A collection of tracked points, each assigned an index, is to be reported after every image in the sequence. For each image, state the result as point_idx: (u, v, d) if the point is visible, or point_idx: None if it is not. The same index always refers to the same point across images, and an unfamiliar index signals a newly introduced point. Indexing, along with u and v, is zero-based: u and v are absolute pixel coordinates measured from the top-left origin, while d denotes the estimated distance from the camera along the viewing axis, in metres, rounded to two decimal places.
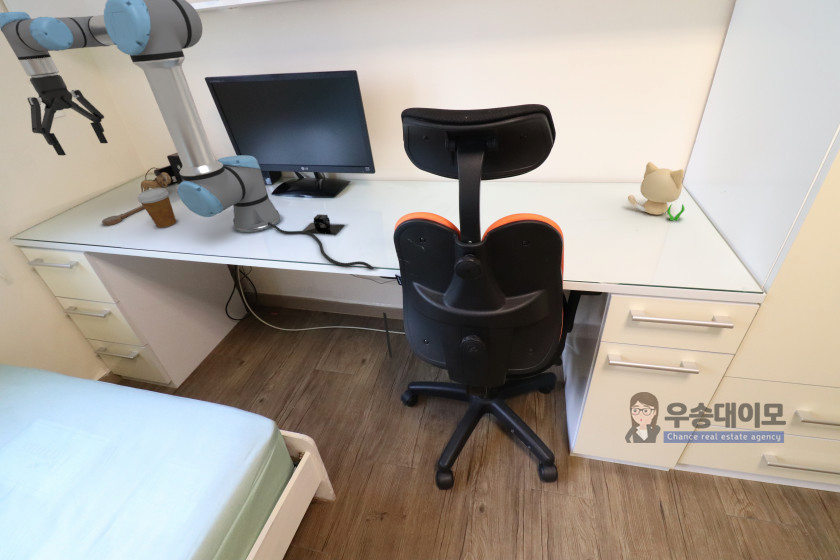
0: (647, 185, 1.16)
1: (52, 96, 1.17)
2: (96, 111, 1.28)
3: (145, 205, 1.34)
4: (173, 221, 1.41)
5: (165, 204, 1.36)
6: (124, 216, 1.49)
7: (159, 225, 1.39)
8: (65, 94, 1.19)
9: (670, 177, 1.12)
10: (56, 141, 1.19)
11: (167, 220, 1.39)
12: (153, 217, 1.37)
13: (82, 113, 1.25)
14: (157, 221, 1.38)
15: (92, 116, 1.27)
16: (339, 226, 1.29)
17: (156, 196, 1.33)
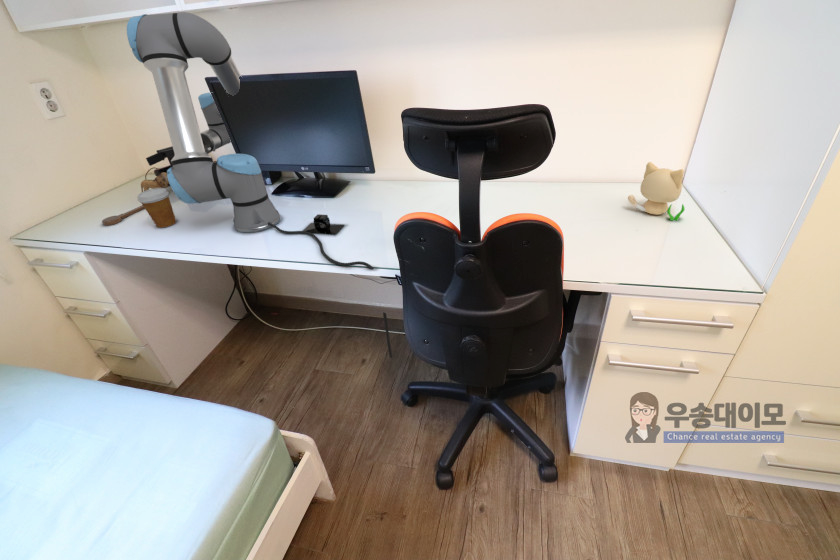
0: (647, 185, 1.16)
1: None
2: None
3: (145, 205, 1.34)
4: (173, 221, 1.41)
5: (165, 204, 1.36)
6: (124, 216, 1.49)
7: (159, 225, 1.39)
8: None
9: (670, 177, 1.12)
10: (155, 154, 1.41)
11: (167, 220, 1.39)
12: (153, 217, 1.37)
13: None
14: (157, 221, 1.38)
15: None
16: (339, 226, 1.29)
17: (156, 196, 1.33)
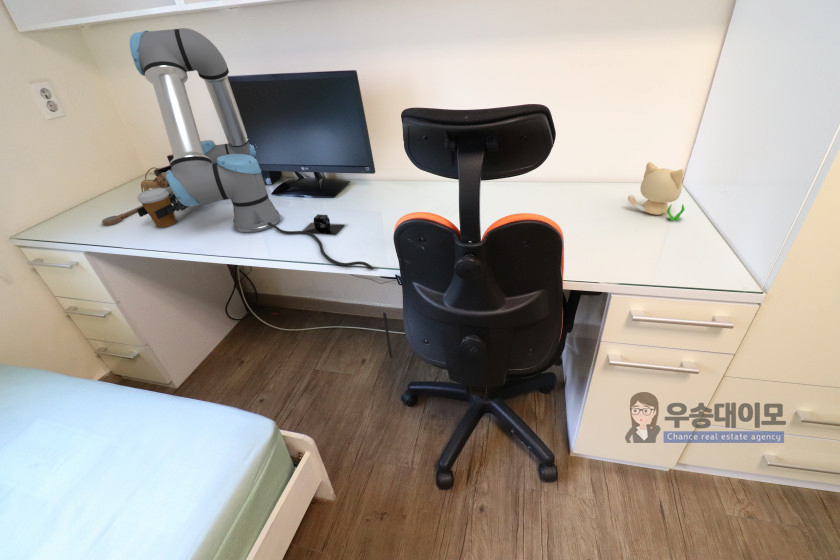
0: (647, 185, 1.16)
1: None
2: None
3: (145, 205, 1.34)
4: (173, 221, 1.41)
5: (165, 204, 1.36)
6: (124, 216, 1.49)
7: (159, 225, 1.39)
8: None
9: (670, 177, 1.12)
10: None
11: (167, 220, 1.39)
12: (153, 217, 1.37)
13: None
14: (157, 221, 1.38)
15: (176, 202, 1.39)
16: (339, 226, 1.29)
17: (156, 196, 1.33)
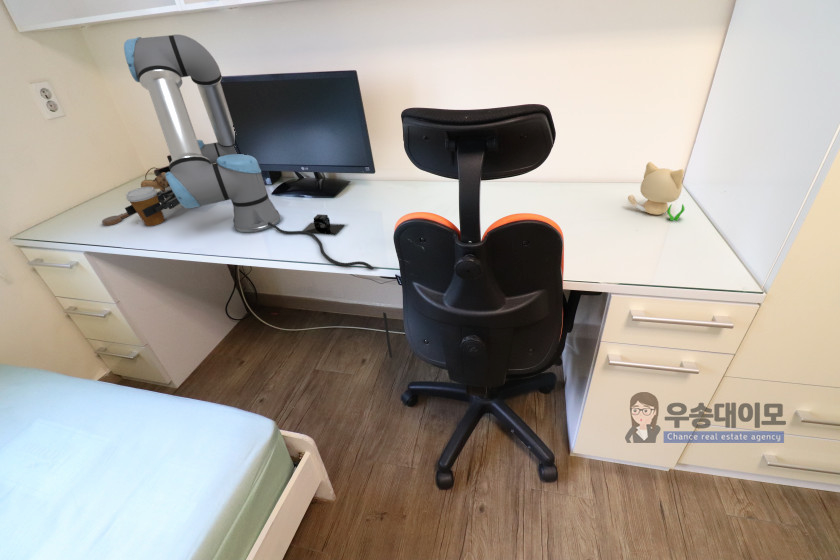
0: (647, 185, 1.16)
1: None
2: (171, 199, 1.41)
3: (133, 203, 1.36)
4: (161, 219, 1.43)
5: (153, 203, 1.38)
6: (124, 216, 1.49)
7: (147, 223, 1.41)
8: None
9: (670, 177, 1.12)
10: None
11: (156, 219, 1.41)
12: (141, 215, 1.39)
13: None
14: (145, 219, 1.40)
15: (165, 200, 1.41)
16: (339, 226, 1.29)
17: (144, 195, 1.35)
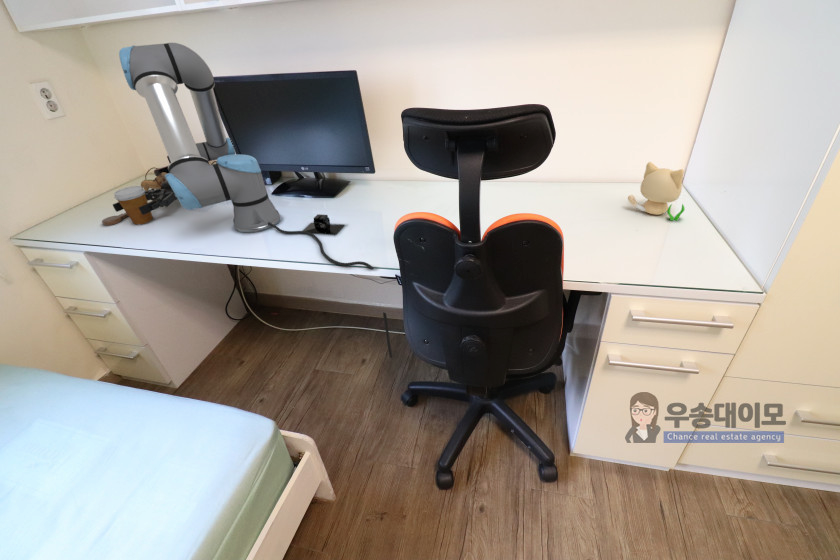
0: (647, 185, 1.16)
1: (161, 190, 1.52)
2: (166, 197, 1.44)
3: (121, 202, 1.37)
4: (150, 218, 1.45)
5: (141, 202, 1.40)
6: (124, 216, 1.49)
7: (136, 222, 1.43)
8: (167, 190, 1.51)
9: (670, 177, 1.12)
10: None
11: (144, 217, 1.43)
12: (129, 214, 1.41)
13: None
14: (133, 218, 1.41)
15: (159, 198, 1.44)
16: (339, 226, 1.29)
17: (132, 194, 1.37)
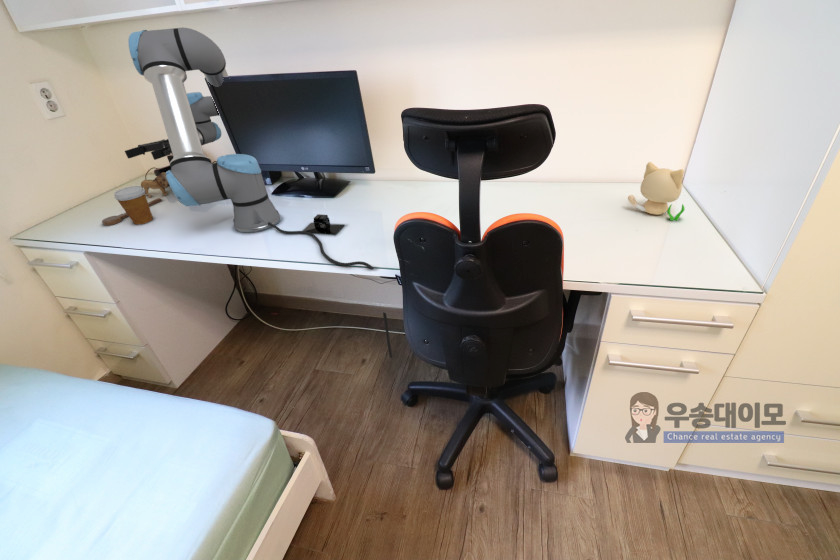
0: (647, 185, 1.16)
1: None
2: None
3: (121, 202, 1.37)
4: (150, 218, 1.45)
5: (141, 202, 1.40)
6: (124, 216, 1.49)
7: (136, 222, 1.43)
8: None
9: (670, 177, 1.12)
10: None
11: (144, 217, 1.43)
12: (129, 214, 1.41)
13: None
14: (133, 218, 1.41)
15: None
16: (339, 226, 1.29)
17: (132, 194, 1.37)
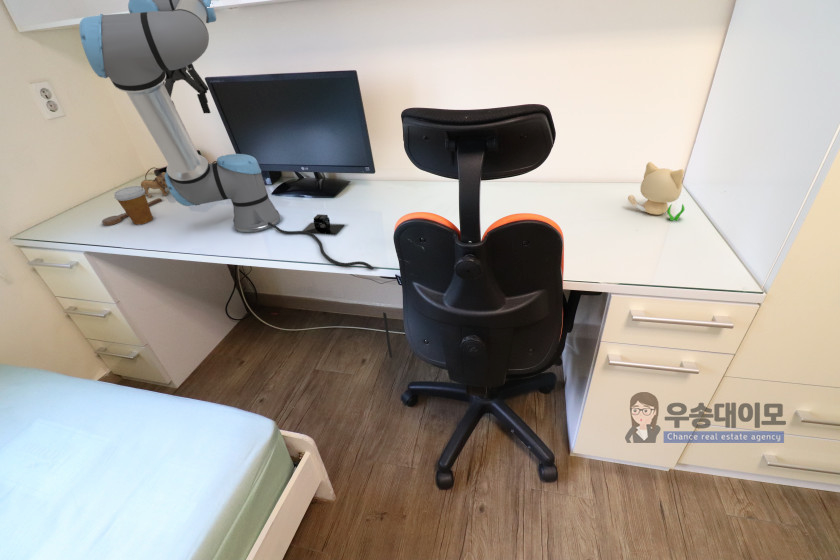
0: (647, 185, 1.16)
1: None
2: (203, 83, 1.41)
3: (121, 202, 1.37)
4: (150, 218, 1.45)
5: (141, 202, 1.40)
6: (124, 216, 1.49)
7: (136, 222, 1.43)
8: None
9: (670, 177, 1.12)
10: None
11: (144, 217, 1.43)
12: (129, 214, 1.41)
13: (192, 84, 1.38)
14: (133, 218, 1.41)
15: (200, 87, 1.40)
16: (339, 226, 1.29)
17: (132, 194, 1.37)
